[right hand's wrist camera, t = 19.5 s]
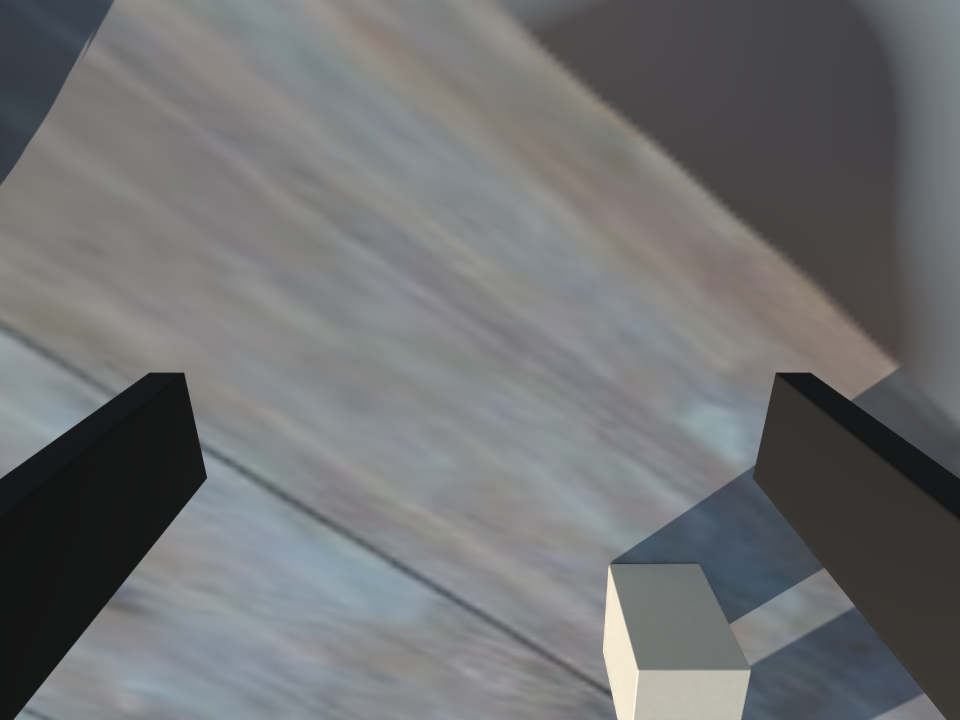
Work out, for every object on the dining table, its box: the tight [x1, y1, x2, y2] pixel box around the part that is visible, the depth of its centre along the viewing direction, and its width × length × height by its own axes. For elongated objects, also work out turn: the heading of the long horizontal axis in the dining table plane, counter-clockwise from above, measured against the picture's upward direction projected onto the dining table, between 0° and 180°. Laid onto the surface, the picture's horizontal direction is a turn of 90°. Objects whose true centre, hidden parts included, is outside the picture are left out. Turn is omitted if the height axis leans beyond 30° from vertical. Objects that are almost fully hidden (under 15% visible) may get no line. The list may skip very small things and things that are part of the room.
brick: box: [603, 564, 751, 720], centre depth 37 cm, size 8×6×9 cm
